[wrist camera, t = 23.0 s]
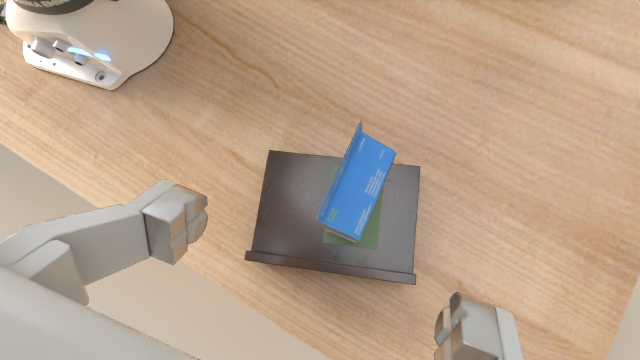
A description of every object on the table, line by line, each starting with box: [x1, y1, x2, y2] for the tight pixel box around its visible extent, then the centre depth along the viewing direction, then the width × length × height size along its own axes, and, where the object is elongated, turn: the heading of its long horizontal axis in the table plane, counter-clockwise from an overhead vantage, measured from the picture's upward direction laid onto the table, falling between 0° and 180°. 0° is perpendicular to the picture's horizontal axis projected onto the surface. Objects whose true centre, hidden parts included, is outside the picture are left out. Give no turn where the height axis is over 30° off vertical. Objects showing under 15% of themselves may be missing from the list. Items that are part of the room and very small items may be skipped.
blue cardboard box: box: [316, 121, 396, 243], centre depth 31 cm, size 9×4×12 cm, turn 156°
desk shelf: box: [245, 150, 420, 285], centre depth 37 cm, size 18×13×5 cm
